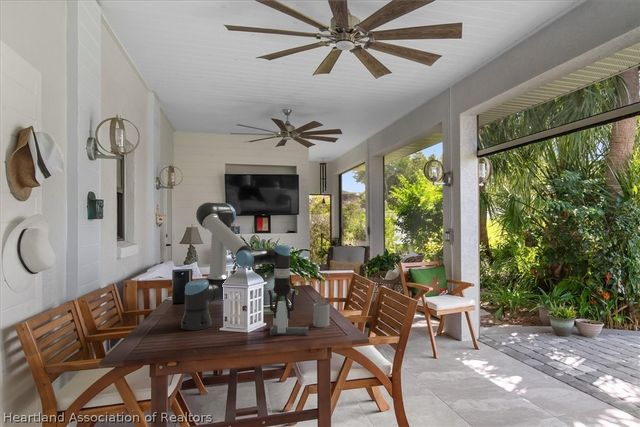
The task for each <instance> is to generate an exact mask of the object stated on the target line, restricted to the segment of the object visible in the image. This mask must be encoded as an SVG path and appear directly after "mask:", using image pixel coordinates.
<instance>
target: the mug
mask: <svg viewBox="0 0 640 427" xmlns="http://www.w3.org/2000/svg"><path fill="white" fill-rule="evenodd" d="M312 322H313V326H314V327H316V328H327V327H330V304H329V303H327V302H316V303H314V304H313V321H312Z"/></svg>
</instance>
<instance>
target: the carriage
mask: <svg viewBox="0 0 640 427" xmlns="http://www.w3.org/2000/svg"><path fill="white" fill-rule="evenodd" d="M276 311H277V333H286V311H287V307H286V302H285V301H278V304H277V310H276Z"/></svg>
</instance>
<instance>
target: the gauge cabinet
mask: <svg viewBox="0 0 640 427" xmlns="http://www.w3.org/2000/svg"><path fill="white" fill-rule="evenodd" d="M272 320H273V321H272V327H277V326H276V318H274V315H273V316H272ZM286 327H289V325H287V326H286Z"/></svg>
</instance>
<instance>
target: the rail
mask: <svg viewBox="0 0 640 427" xmlns="http://www.w3.org/2000/svg"><path fill="white" fill-rule="evenodd" d="M274 335H275V336H276V335H279V336H280V335H282V336H283V335H285V336H286V335H288V336H289V335H292V336H293V335H295V336H296V335H301V336H302V335H305V336H309V326H308V325H307V326H300V327H299V326H294V327H293V326H288V327H286V333H277V327H273V326H270V329H269V336H274Z"/></svg>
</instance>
